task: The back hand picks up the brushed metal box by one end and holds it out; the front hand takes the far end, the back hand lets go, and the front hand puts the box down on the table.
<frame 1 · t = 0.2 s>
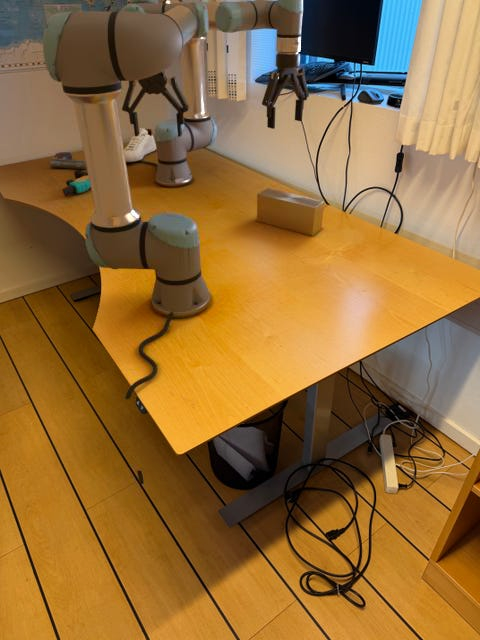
front hand: (158, 135, 149), 30 cm above the table, tool pointing down, fingers open, 13 cm apart
back hand: (284, 124, 161), 29 cm above the table, tool pointing down, fingers open, 13 cm apart
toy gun: (72, 165, 218), on the table
sneaker: (137, 157, 227), on the table
box: (288, 224, 164), on the table
toy gun 2: (81, 187, 195), on the table
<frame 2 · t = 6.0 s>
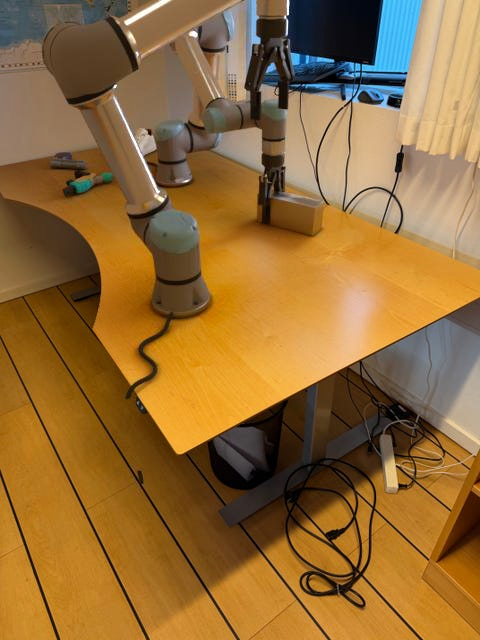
front hand: (269, 114, 124), 40 cm above the table, tool pointing down, fingers open, 13 cm apart
back hand: (271, 218, 167), 0 cm above the table, tool pointing down, fingers closed on box, 7 cm apart
box: (288, 224, 164), on the table, touching back hand
everything else where it was.
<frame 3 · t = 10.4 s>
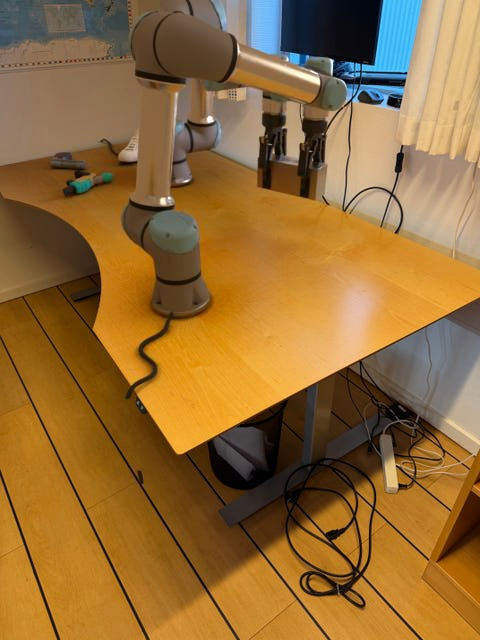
front hand: (309, 193, 153), 13 cm above the table, tool pointing down, fingers closed on box, 7 cm apart
back hand: (272, 184, 159), 13 cm above the table, tool pointing down, fingers closed on box, 7 cm apart
box: (290, 190, 156), point 12 cm above the table, touching front hand, back hand
everything else where it was.
when the back hand's fingers open (13 cm above the table, at t = 11.3 s): box stays where it is, held by the front hand.
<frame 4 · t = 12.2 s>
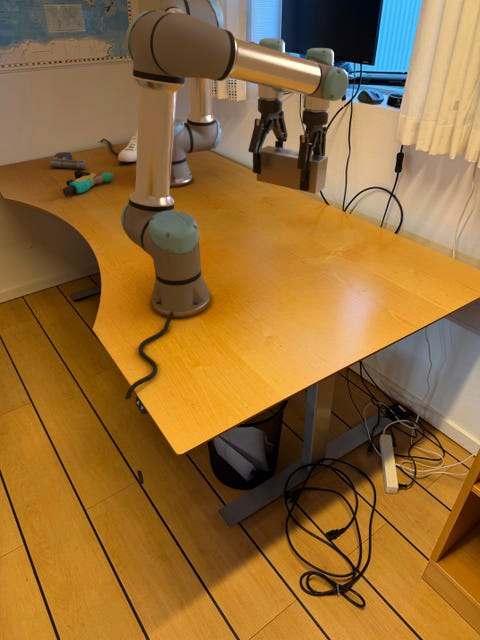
front hand: (309, 186, 151), 15 cm above the table, tool pointing down, fingers closed on box, 7 cm apart
back hand: (267, 167, 157), 18 cm above the table, tool pointing down, fingers open, 13 cm apart
box: (290, 184, 155), point 14 cm above the table, touching front hand
everything else where it was.
when the front hand's fingers open (2 cm above the table, at t = 21.9 s): box drops 1 cm, on the table.
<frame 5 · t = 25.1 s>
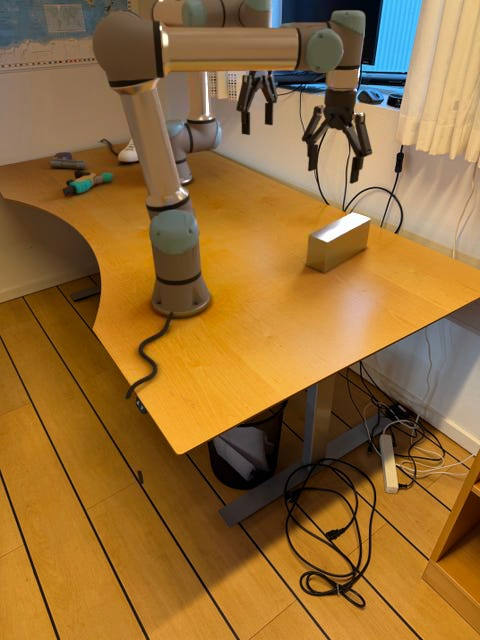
front hand: (332, 176, 126), 27 cm above the table, tool pointing down, fingers open, 13 cm apart
back hand: (257, 129, 152), 30 cm above the table, tool pointing down, fingers open, 13 cm apart
box: (337, 256, 145), on the table
everything else where it was.
at the end: box inside the target area (6.9 cm from its centre), on the table; the front hand is holding nothing; the back hand is holding nothing; box at rest at the end (0.0 cm/s) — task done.
